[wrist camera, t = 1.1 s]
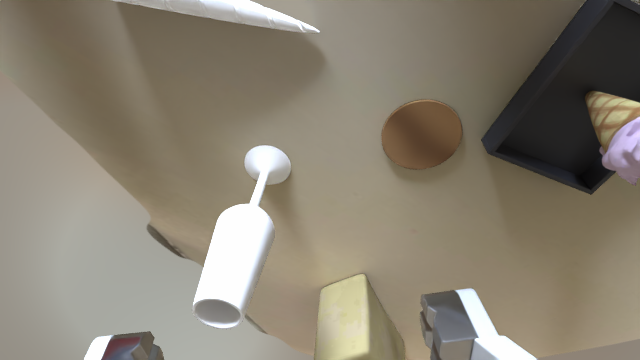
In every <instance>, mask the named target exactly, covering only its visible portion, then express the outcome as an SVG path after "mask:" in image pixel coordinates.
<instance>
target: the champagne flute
mask: <svg viewBox="0 0 640 360" xmlns="http://www.w3.org/2000/svg"><path fill="white" fill-rule="evenodd" d="M244 165H245V169H246V171H247V172H248V174H249V175H250V176H251V177H252V178H253V179H255V180H256V181H258V182H257V185H256V188H255V190H254V193H253V196H252V199H251V202H250V204H241V205H236V206H233V207H231V208H229V209H227V210H226V211H224V212H223V213H222V214H221V215H220V217H219V218H218V220H217V224H216V227H215V231H214V234H213V238H212V241H211V244H210V248H209V251H208V255H207V258H206V262H205V265H204V269H203V272H202V276H201V279H200V282H199V286H198V289H197V293H196V296H195V300H194V303H193V307H192V311H193V314H194V316H195V317H196V318H197V319H198V320H199V321H200V322H202V323H203V324H205V325H207V326H210V327H213V328H219V329H231V328H235V327H237V326H239V325H240V324H241V323H242V322H243V319H244V316H245V314H246V311H247V309H248V306H249V303H250V301H251V298H252V295H253V293H254V290H255V288H256V285H257V282H258V280H259V277H260V275H261V272H262V269H263V267H264V264H265V261H266V259H267V256H268V254H269V251H270V248H271V246H272V243H273V241H274V238H275V227H274V224H273V222H272V220H271V218H270V217H269V216H268V214H267V213H266V212H265V211H264V210H262V209H261V208H259V205H260V202H261V199H262V196H263V192H264V189H265V186H266V184H278V183H281V182H283V181H284V180H286V179H287V178H288V176H289V174H290V172H291V163H290V160H289V158H288V157H287V155H286V154H285V153H284V152H282V151H281V150H279V149H277V148H275V147H272V146H267V145H263V146H257V147H255V148H252V149H251V150H250V151H249V152H248V153H247V154H246V156H245V160H244Z"/></svg>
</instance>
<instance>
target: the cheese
mask: <svg viewBox="0 0 640 360" xmlns="http://www.w3.org/2000/svg"><path fill="white" fill-rule="evenodd" d="M314 360H405V351H404V342H403V339H402V338H401V336H400V334H399V333H398V331H397V330H396V328H395V326H394V325H393V323H392V322H391V320H390V319H389V317H388V316H387V314H386V312H385V311H384V309H383V308H382V306H381V304H380V302H379V301H378V299H377V297H376V295H375V293H374V291H373V289H372V287H371V285H370V283H369V281H368V279H367V277H366V276H365V275H364V274H359V275H355V276H353V277H350V278H347V279H344V280H342V281H339V282H336V283H334V284H331V285H329V286H326V287H324V288H323V289H322V290H321V292H320V300H319V310H318V322H317V332H316V342H315V353H314Z"/></svg>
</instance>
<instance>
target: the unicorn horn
mask: <svg viewBox="0 0 640 360" xmlns="http://www.w3.org/2000/svg"><path fill="white" fill-rule="evenodd" d="M112 1H118V2H124V3H129V4H134V5H141V6H145V7H151V8H156V9H162V10H167V11H172V12H178V13H183V14H189V15H194V16H200V17H205V18H210V17H211V18H212V19H217V20H222V21H228V22H234V23H240V24H242V23H244V24H247V25H253V26H259V27H265V28H272V29H275V28H277V29H279V30H286V31H294V32H303V33H319V31H318V30H317V29H315V28H314V27H312V26H310V25H308V24H305V23H303V22H301V21H298V20H295V19H294V18H292V17H289V16H287V15H284V14H282V13H279V12H277V11H274V10H272V9H269V8H264V7H263V6H262V5H259V4H257V3H254V2H251V1H249V0H112Z"/></svg>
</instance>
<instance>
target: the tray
mask: <svg viewBox="0 0 640 360" xmlns="http://www.w3.org/2000/svg"><path fill="white" fill-rule="evenodd" d="M590 91H598V92H602V93H606V94H610V95H614V96H618V97H622V98H625V99H629V100H632V101H636V102H639V103H640V5H638V4H636V3H634V2H632V1H630V0H587V1H586V2H585V3H584V5H583V6H582V7H581V8H580V10H579V11H578V12H577V14H576V15H575V16H574V18H573V19H572V20H571V22H570V23H569V24H568V26H567V27H566V28H565V30H564V31H563V32H562V34H561V35H560V36H559V38H558V39H557V40H556V42H555V43H554V44H553V45H552V47H551V48H550V49H549V51H548V52H547V53H546V55H545V56H544V57H543V59H542V60H541V61H540V63H539V64H538V65H537V67H536V68H535V69H534V71H533V72H532V73H531V75H530V76H529V77H528V79H527V80H526V81H525V83H524V84H523V85H522V86H521V88H520V89H519V90H518V92H517V93H516V94H515V96H514V97H513V98H512V100H511V101H510V102H509V104H508V105H507V106H506V108H505V109H504V110H503V112H502V113H501V114H500V116H499V117H498V118H497V120H496V121H495V122H494V123H493V125H492V126H491V127H490V129H489V130H488V131H487V133H486V134H485V135H484V137H483V138H482V139H481V141H482V142H483V144H484V146H485V149H486V151H487V153H488V154H490V155H493V156H495V157H498V158H500V159H503V160H505V161H508V162H510V163H513V164H515V165H518V166H520V167H523V168H525V169H528V170H530V171H533V172H535V173H538V174H540V175H543V176H545V177H548V178H550V179H553V180H556V181H558V182H561V183H563V184H566V185H568V186H571V187H573V188H576V189H578V190H581V191H583V192H586V193H588V194H593V193H594V191H596V190H597V189H598V188H599V187H600V186H601V185H602V184H603V183H604V182H605V181H607V180H608V179H609V178H610V177H611V176H612V175H613V174H614V173H615V172H616V171H613V170H610V169H607V168H605V167H604V166H603V164H602V157H603V155H602V154H601V153H600V151H599V150H600V147H601V144H600V142H599V140H598V137H597V135H596V132H595V130H594V127H593V124H592V121H591V118H590V115H589V112H588V108H587V105H586V101H585V96H586V94H587V93H588V92H590Z"/></svg>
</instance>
